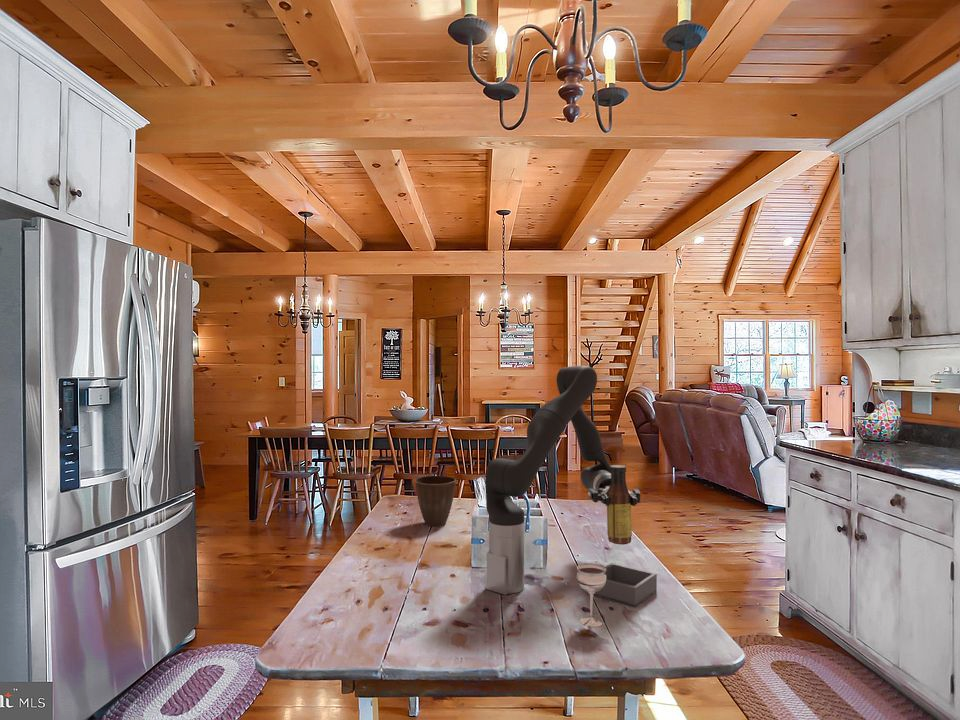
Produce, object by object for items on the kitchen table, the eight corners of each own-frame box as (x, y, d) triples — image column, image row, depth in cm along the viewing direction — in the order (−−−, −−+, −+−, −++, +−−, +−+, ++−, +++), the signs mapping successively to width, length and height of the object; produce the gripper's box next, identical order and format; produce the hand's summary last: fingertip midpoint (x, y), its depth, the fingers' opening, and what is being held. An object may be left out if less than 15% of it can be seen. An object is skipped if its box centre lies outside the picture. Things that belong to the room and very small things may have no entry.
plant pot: (454, 529, 207) (455, 484, 207) (412, 529, 207) (412, 483, 207) (457, 518, 222) (457, 475, 222) (417, 518, 222) (417, 475, 222)
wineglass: (600, 631, 130) (600, 576, 130) (571, 623, 133) (571, 570, 133) (611, 619, 135) (611, 567, 135) (583, 612, 139) (583, 561, 139)
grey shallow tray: (635, 607, 142) (635, 588, 142) (588, 594, 150) (588, 576, 150) (656, 591, 152) (656, 573, 152) (611, 580, 160) (611, 563, 160)
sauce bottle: (635, 541, 156) (636, 466, 156) (624, 547, 151) (625, 469, 151) (613, 536, 160) (614, 462, 160) (601, 541, 155) (602, 466, 155)
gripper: (583, 474, 170) (593, 487, 153) (633, 474, 170) (649, 487, 153) (582, 500, 170) (593, 516, 153) (633, 501, 170) (649, 516, 153)
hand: (621, 502), depth 153 cm, fingers closed on sauce bottle, 6 cm apart
